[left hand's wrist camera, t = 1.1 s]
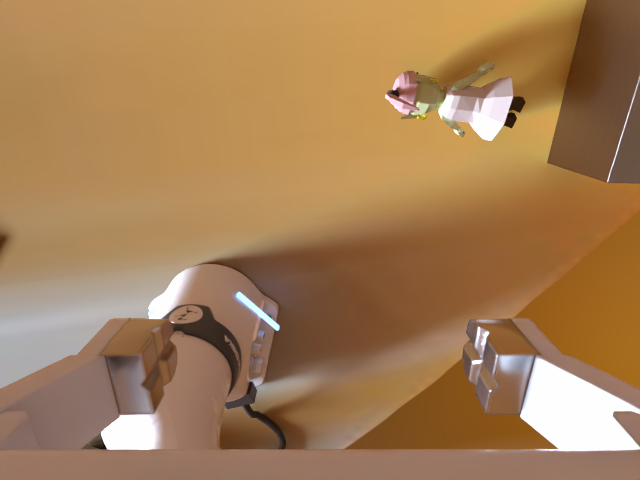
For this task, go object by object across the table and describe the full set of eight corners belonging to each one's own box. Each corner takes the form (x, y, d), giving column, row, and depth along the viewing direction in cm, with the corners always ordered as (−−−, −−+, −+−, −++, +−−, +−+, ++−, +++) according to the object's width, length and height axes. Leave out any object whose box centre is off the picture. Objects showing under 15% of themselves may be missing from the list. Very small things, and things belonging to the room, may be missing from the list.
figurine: (526, 62, 42) (394, 38, 42) (549, 87, 37) (397, 60, 36) (492, 133, 48) (376, 112, 48) (507, 164, 42) (376, 141, 42)
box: (597, 163, 48) (670, 184, 38) (546, 162, 48) (607, 183, 38) (661, -57, 39) (779, -107, 29) (600, -59, 39) (697, -109, 29)
